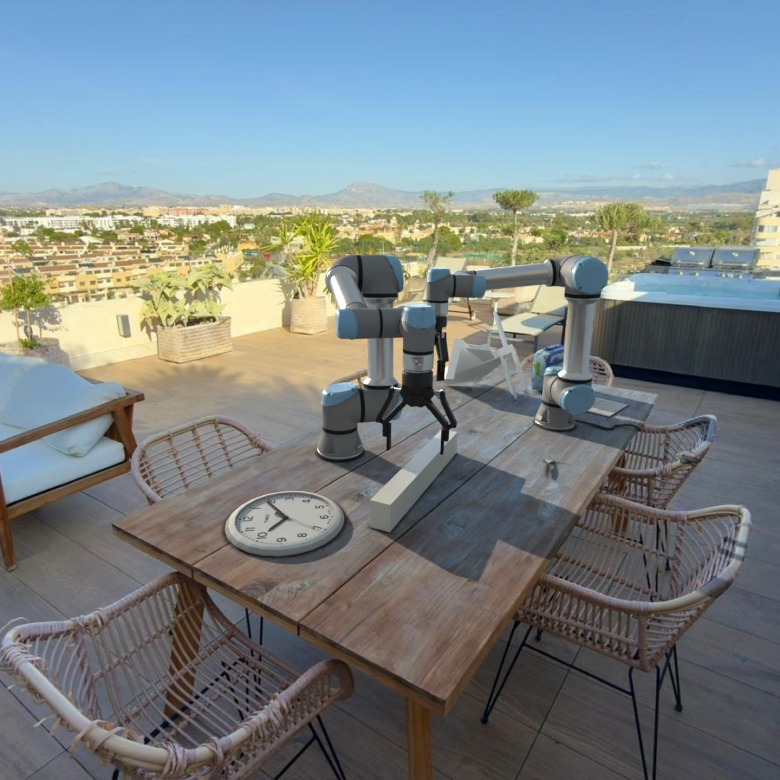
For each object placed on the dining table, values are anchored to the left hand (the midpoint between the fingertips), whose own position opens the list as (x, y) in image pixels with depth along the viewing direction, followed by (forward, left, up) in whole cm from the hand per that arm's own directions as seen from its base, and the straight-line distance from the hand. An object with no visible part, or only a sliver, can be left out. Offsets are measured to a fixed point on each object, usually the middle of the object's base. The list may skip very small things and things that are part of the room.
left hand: (415, 450), depth 132 cm
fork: (-11, +54, -19) cm, 58 cm away
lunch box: (-79, +111, -19) cm, 138 cm away
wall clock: (-10, -32, -19) cm, 38 cm away
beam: (-15, +10, -19) cm, 26 cm away
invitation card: (-51, +115, -19) cm, 127 cm away
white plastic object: (-87, +76, -19) cm, 117 cm away
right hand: (-46, +29, +5) cm, 55 cm away
